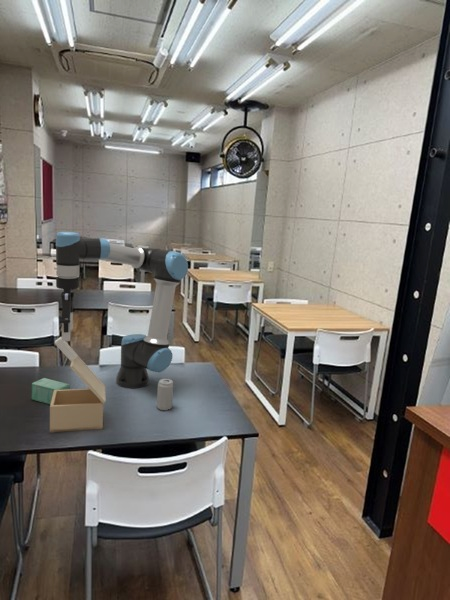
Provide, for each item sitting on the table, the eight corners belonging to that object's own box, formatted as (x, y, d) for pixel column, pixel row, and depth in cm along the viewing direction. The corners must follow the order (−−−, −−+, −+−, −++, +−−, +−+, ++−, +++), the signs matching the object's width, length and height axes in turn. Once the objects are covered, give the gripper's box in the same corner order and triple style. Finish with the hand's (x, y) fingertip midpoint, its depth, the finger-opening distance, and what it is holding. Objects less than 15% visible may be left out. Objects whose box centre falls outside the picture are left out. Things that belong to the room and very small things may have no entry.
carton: (102, 411, 162) (103, 388, 160) (102, 429, 148) (103, 404, 146) (53, 413, 156) (54, 389, 154) (49, 432, 143) (49, 406, 141)
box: (58, 407, 162) (58, 389, 160) (30, 400, 165) (30, 383, 164) (70, 400, 169) (70, 383, 167) (43, 393, 172) (43, 377, 171)
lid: (103, 387, 160) (108, 383, 160) (103, 403, 146) (109, 399, 147) (56, 336, 150) (62, 332, 150) (52, 348, 137) (58, 343, 137)
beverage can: (174, 406, 171) (176, 380, 169) (167, 412, 165) (169, 385, 163) (161, 403, 173) (162, 376, 171) (153, 409, 167) (155, 382, 165)
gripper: (59, 270, 151) (59, 325, 155) (52, 282, 128) (52, 346, 132) (80, 271, 153) (80, 325, 157) (77, 283, 130) (76, 345, 134)
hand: (67, 334), depth 145 cm, fingers open, 13 cm apart
